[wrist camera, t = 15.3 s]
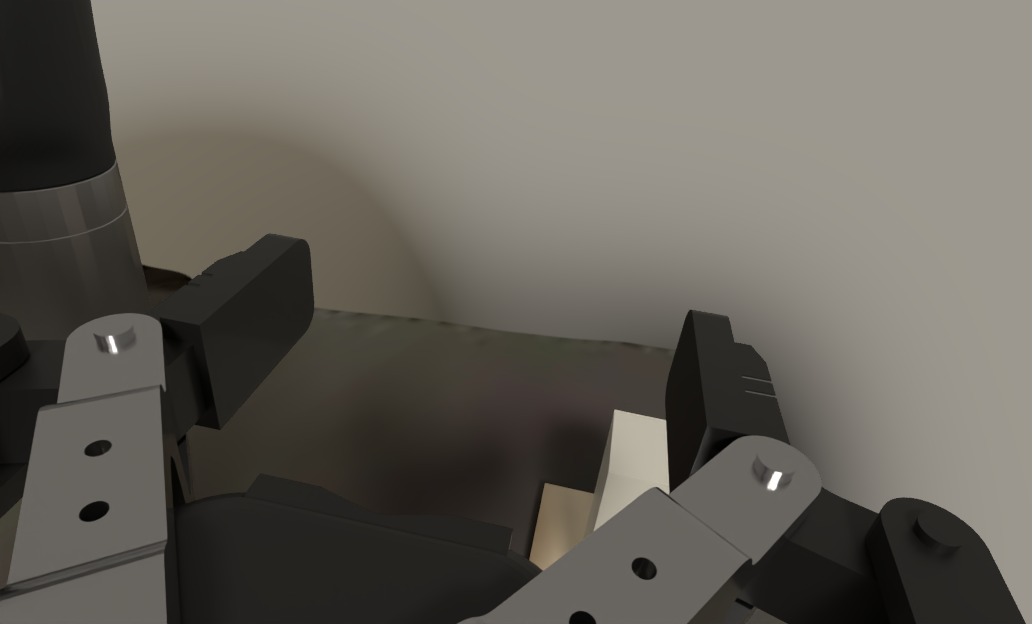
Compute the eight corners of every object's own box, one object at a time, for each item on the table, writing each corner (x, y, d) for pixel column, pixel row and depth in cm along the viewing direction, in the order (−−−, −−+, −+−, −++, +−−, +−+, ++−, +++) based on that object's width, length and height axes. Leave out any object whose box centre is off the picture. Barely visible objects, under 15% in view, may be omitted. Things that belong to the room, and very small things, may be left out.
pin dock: (497, 716, 30) (505, 671, 28) (542, 498, 42) (549, 455, 40) (707, 771, 29) (731, 728, 27) (691, 531, 41) (707, 489, 39)
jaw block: (570, 620, 33) (608, 472, 27) (579, 552, 37) (614, 409, 31) (653, 641, 32) (710, 494, 27) (654, 569, 36) (703, 428, 30)
